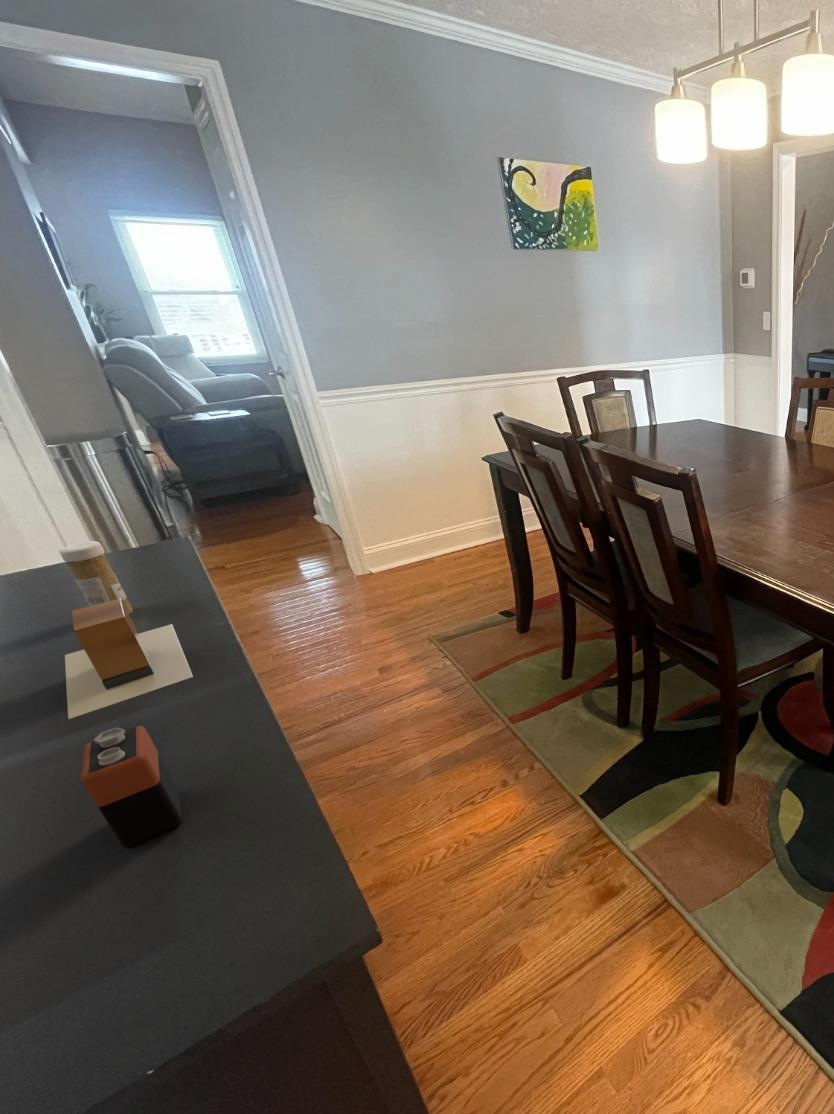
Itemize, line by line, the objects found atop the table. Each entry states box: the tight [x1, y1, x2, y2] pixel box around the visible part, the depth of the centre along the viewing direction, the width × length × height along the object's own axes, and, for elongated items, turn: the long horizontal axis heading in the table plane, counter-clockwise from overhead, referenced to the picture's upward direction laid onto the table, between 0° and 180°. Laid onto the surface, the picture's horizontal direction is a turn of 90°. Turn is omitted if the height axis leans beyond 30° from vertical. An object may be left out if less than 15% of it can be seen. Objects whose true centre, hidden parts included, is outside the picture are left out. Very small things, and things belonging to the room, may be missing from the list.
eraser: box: [71, 599, 154, 689], centre depth 82 cm, size 9×5×9 cm, turn 47°
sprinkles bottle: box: [59, 540, 134, 615], centre depth 97 cm, size 5×5×14 cm
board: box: [64, 623, 194, 720], centre depth 85 cm, size 22×12×1 cm, turn 47°
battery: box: [80, 725, 182, 849], centre depth 59 cm, size 4×7×10 cm, turn 44°
